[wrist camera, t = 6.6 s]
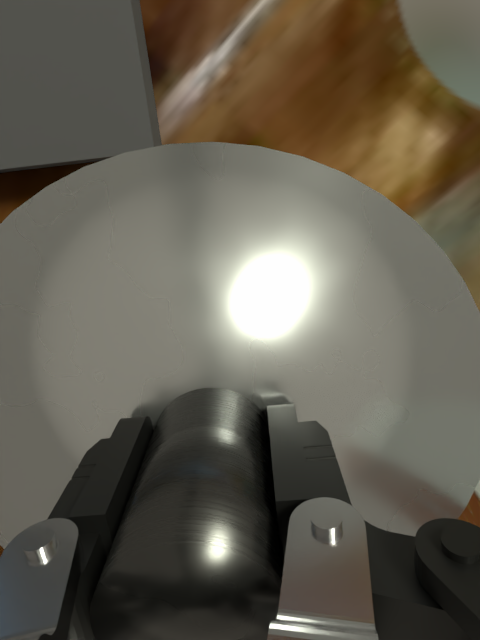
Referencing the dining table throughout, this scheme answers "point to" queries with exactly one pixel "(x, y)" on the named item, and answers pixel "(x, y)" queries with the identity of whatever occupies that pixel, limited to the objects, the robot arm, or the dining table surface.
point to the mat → (73, 83)
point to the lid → (227, 367)
